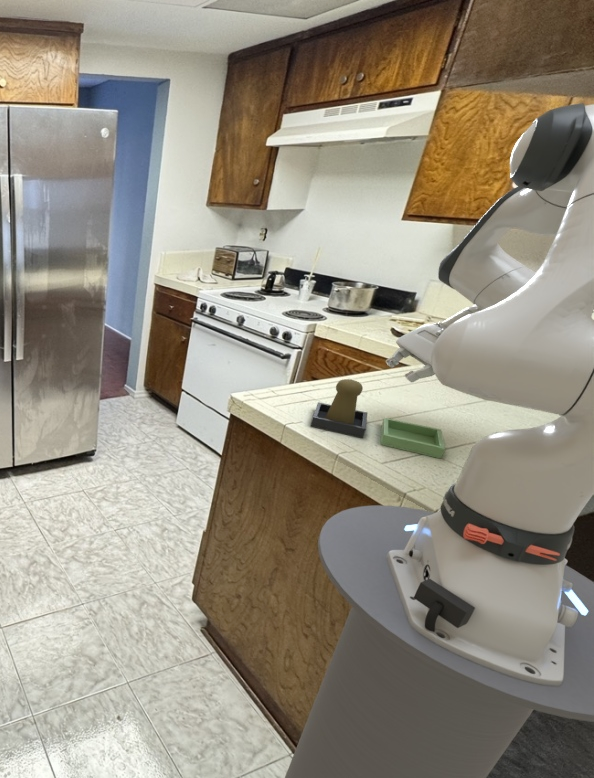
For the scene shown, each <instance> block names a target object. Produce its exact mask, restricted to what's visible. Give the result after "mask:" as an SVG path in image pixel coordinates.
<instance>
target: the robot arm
mask: <svg viewBox="0 0 594 778" xmlns="http://www.w3.org/2000/svg"><path fill="white" fill-rule="evenodd" d="M509 171H510V173H509V178H510V180H511V181H512V182H513V184H514V185H515V186H516V187H515V188H512V189H511V190H509V191H508V192H506V193H505V194H504V195H503V196H501V197H500V198H498V200H496V202H494V203H493V205H492V206H491V207H490V208H489V209H488V210H487V211H486V212H485V213H484V214H483V215H482V217H481V218H480V219H479V220H478V221H477V222H476V224H475V225H474V226H473V228H471V229H470V230H469V232H468V233H467V234H466V236H465V237H464V238H463V239H462V240H461V242H460V243H459V244H457V246H456V247H454V248H453V249H452V250H451V251H450V252H449V253H448V254H446V256H444V258H443V259H442V260H441V262H440V263H439V266H438V274H437V275H438V276H437V277H438V280H439V282H441V283H443V284H445V285H446V286H448V287H449V288H451V289H453V290H455V291H456V292H458V293H459V294H460V295H461V296H462V297H464V298H465V299H466V300H467V301H469V302H470V303H472V304H473V305H471V306H467V307H464V308H463V309H462V310H460V311H458V312H456V313H455V314H453V315H451V316H449V317H448V318H446V319H445V320H443V321H441V322H437V323H426V324H423V325H421V326H419V327H417V328H414V329H413V330H411V331H409V332H407V333H405V334H403V335H401V336H400V337H399V338H398V339H397V340H396V341H395V343H396V344H397V345H398V347H399V348H398V349H397V350H396V351H395V352H394V353H393V355H391V356H390V357H389V358H387V359H385V363H386V364H387V366H389V367H390V368H394V367H396V366H398V365H400V361H402V360H403V359H406V358H408V357H411V358H413V359H414V360H416V361H417V362H419V363H421V364H422V365H423V366H422V368H420V369H417V370H415V371H414V370H410V371H409V372H407V373H405V374H404V377H405V379H406V380H407V381H408V382H410V383H414V382H417V381H418V380H421V379H425V378H426V379H427V378H430V377H433V376H435V377H436V379H437V381H439V382H440V384H441V385H442V386H445V387H447V388H449V389H452V390H456V391H458V392H461V393H463V394H466V395H469V396H472V397H475V398H478V399H481V400H484V401H489V402H492V403H493V402H494V403H499V404H502V405H509V406H514V407H519V408H523V409H529V410H534V411H539V412H544V413H548V414H554V415H558V416H559V417H557V418H556V419H554V420H552V421H549V422H547V423H545V424H541V425H537V426H533V427H527V428H515V429H514V428H513V429H506V430H500V431H496V432H493V433H490V434H489V435H486V436H484V437H482V438H480V439H478V441H477V442H475V443H474V444H473V445H472V447H471V449H470V452H469V454H468V456H467V458H466V460H465V462H464V465H463V467H462V470H461V472H460V473H459V476H458V478H457V480H456V482H455V483H453V484H451V485H450V486H449V488H448V490H447V491H446V492H445V494H444V496H443V498H442V503H441V504H440V508H439V510H437V511H436V512H435V513H434V514H432V515H428V516H425V517H422V518H421V519H420V520H419V522H418V524H416V525H408V526H406V527H405V530H406V531H410V530H414V532H413V534H412V536H411V538H410V540H409V542H408V544H407V545H406V547H405V549H404V550H391V551H389V553H388V554H387V556H386V558H387V561H388V564H389V567H390V570H391V573H392V575H393V578H394V581H395V584H396V587H397V590H398V593H399V596H400V598H401V601H402V604H403V607H404V610H405V613H406V616H407V618H408V621H409V623H410V625H411V627H412V628H413V629H415V630H416V631H417V632H419V633H420V634H421V635H423V636H424V637H426V638H427V639H429V640H431V641H432V642H434V643H436V644H437V645H439V646H441V647H443V648H445V649H447V650H449V651H450V652H452V653H454V654H457V655H459V656H461V657H463V658H465V659H467V660H470V661H472V662H474V663H477V664H479V665H481V666H484V667H486V668H489V669H492V670H494V671H497V672H499V673H502V674H505V675H508V676H511V677H513V678H517V679H520V680H523V681H527V682H531V683H535V684H540V685H546V686H560V685H561V683H562V681H563V677H564V648H565V626H567V627H572V626H573V625H574V623H575V621H576V619H577V616H578V611H576V610H575V609H573V608H570V607H568V606H565V605H563V604H561V600H560V599H561V592H562V591H564V592H565V593H566V594H567V596H568V597H569V598H570V600H571V601H572V602H573V604H574V605H575V606H576V607H577V609H578V610H579V611H580V613H581V614H582V615H586V614H587V612H588V610H587V609H586V607H585V606H584V605H583V604H582V602H581V601H580V600H579V599H578V597H577V596H576V595H575V594H574V592H573V591H572V590H571V589H572V585H573V584H572V583H570V582H568V581H566V580H563V575H564V567H565V565H566V566H567V564H568V559H567V558H565V557H566V555H567V552H568V550H569V549H570V548H571V546H572V542H573V536H574V534H575V525H574V524H575V522H576V521H577V518H578V517H579V515H580V514H581V513H582V511H583V509H584V508H585V507H586V505H587V504H588V502H590V500H591V499H592V498H593V496H594V319H593V318H592V315H593V313H594V103H593V104H587V105H585V103H584V102H580V103H574V104H568V105H564V106H560V107H555V108H551V109H549V110H548V111H546V112H545V113H543V114H541V115H539V116H538V117H537V118H535V119H534V120H533V122H532V124H530V125H529V127H528V128H527V129H526V130H525V131H524V132H523V133H522V134H521V135H520V137H519V138H518V140H517V141H516V142H515V145H514V146H513V149H512V152H511V154H510V159H509ZM511 229H514V230H519V231H522V232H523V231H524V232H526V233H529V234H532V235H536V236H542V237H554V239H553V241H552V244H551V245H550V247H549V250H548V252H547V254H546V256H545V258H544V260H543V262H542V264H541V265H540V267H538V269H537V270H536V271H535V270H533V269H531V268H530V267H528V266H527V265H524V264H523V263H521V262H520V261H519V260H517V259H515V258H514V257H513V256H511V255H510V254H509V253H507V252H506V251H504V250H503V248H502V247H501V246H500V244H499V242H500V241H501V240H502V239H503V238H504V237H505V236H506V235H507V234H508V233H509V232H510V230H511Z"/></svg>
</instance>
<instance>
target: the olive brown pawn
mask: <svg viewBox="0 0 594 778" xmlns="http://www.w3.org/2000/svg"><path fill="white" fill-rule="evenodd" d="M335 390H336V393H335V396H334V398H333V400H332V402H331V404H330V405H331V406H330V409H329V411H328V413H327V415H326V417H325V419H328V420H333V421H337V422H342V423H346V424H351V425H353V424H354V417H355V410H357V403H358V397H359V396H360V395H361V394H362V392H363V391H364V390H363V384H362V383H361V382H359V381H357V380H354V379H349V378H346V379H340V380H339V381H338V382H337V384H336V385H335Z"/></svg>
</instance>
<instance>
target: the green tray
mask: <svg viewBox="0 0 594 778" xmlns="http://www.w3.org/2000/svg"><path fill="white" fill-rule="evenodd" d="M380 445H381V446H385V447H390V448H395V449H398V450H403V451H407V452H411V453H415V454H419V455H423V456H428V457H433V458H436V459H442V457H443V456H444V452H445V451H446V447H445V442H444V436H443V431H442V429H440V428H435V427H431V426H427V425H423V424H422V425H421V424H416V423H412V422H408V421H402V420H397V419H392V418H388V417H384V418H383V421H382V423H381V426H380Z"/></svg>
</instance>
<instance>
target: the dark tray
mask: <svg viewBox="0 0 594 778" xmlns="http://www.w3.org/2000/svg"><path fill="white" fill-rule="evenodd" d="M330 406H331V404H329V403H324V402H317V404H316V407H315V410H314V412H313V416H312V419H311V423H310V427H312V428H317V429H321V430H325V431H329V432H334V433H338V434H342V435H347V436H350V437H354V438H360V439H363V438H364V435H365V433H366V429H367V421H368V411H364V410H363V411H362V410H359V409H358V410H357V409H356V410H355V417H354V424H353V425H351V424H346V423H342V422H337V421H333V420H328V419H325V417H326V415H327V413H328V411H329V409H330Z"/></svg>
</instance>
